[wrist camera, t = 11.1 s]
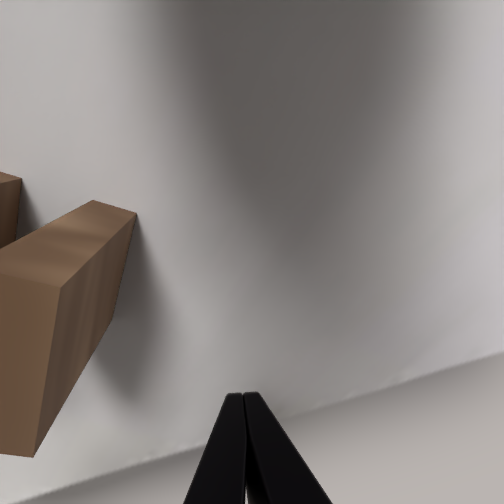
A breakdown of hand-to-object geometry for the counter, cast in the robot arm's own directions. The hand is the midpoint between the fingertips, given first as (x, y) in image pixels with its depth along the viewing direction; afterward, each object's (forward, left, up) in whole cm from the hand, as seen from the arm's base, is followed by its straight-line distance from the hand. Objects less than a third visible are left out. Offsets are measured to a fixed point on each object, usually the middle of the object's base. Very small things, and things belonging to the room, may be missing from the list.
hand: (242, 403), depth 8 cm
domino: (+4, -4, -6) cm, 8 cm away
